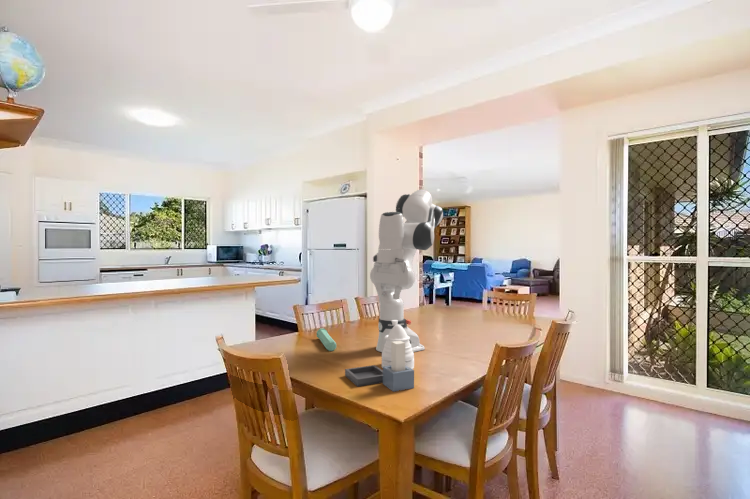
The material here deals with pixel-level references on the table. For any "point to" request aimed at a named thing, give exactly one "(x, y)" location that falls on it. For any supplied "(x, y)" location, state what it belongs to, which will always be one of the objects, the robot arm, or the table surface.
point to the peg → (397, 356)
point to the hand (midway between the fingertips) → (389, 297)
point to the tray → (365, 375)
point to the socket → (398, 378)
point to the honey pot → (397, 335)
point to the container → (326, 339)
